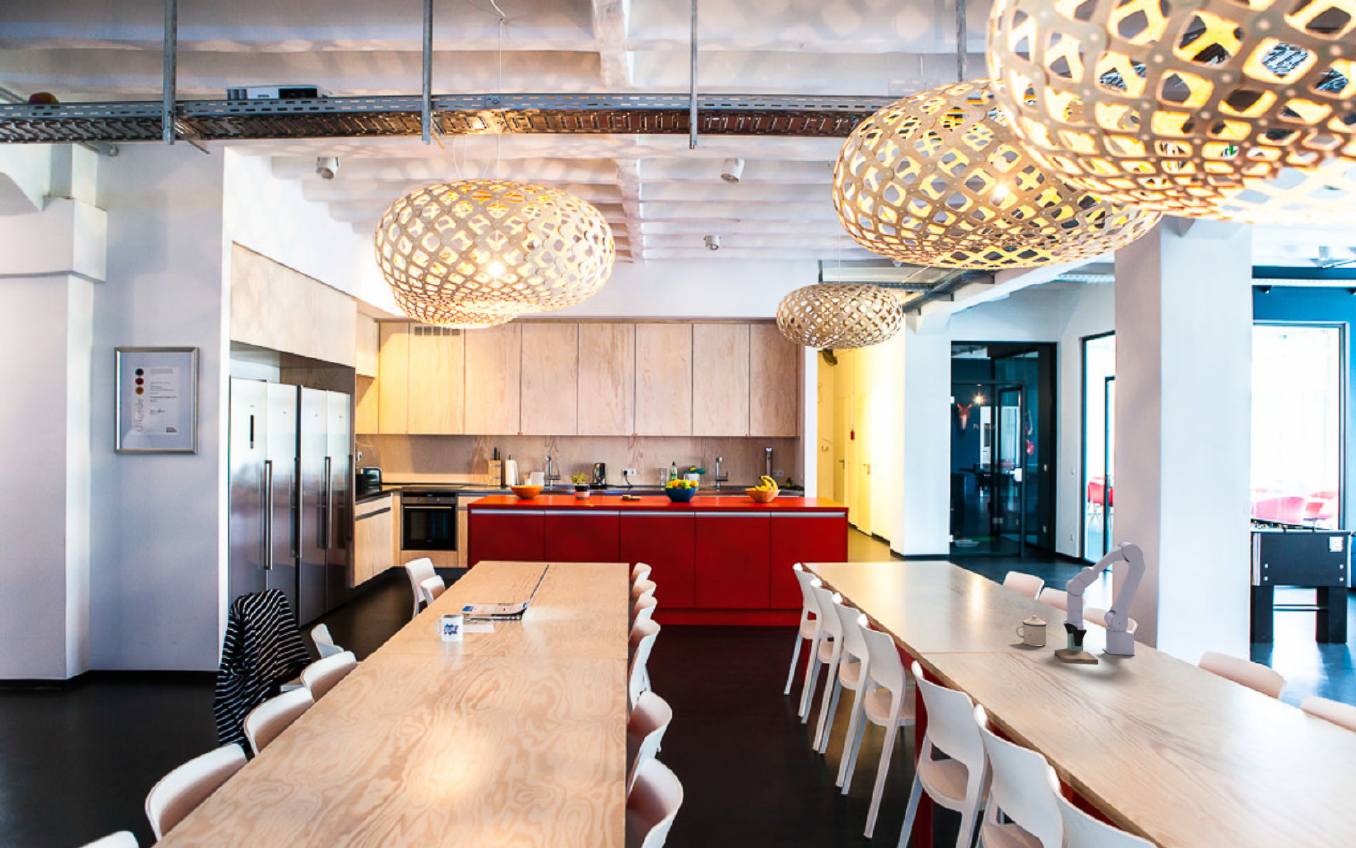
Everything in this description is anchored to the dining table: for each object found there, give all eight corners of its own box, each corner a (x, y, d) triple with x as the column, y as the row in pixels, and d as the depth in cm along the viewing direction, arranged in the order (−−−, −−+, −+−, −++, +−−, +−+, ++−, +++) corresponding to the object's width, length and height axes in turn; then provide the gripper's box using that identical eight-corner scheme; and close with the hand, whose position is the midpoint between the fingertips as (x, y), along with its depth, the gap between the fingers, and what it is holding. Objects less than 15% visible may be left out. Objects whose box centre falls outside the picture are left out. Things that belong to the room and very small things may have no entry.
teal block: (1079, 648, 317) (1079, 634, 318) (1083, 651, 313) (1083, 636, 313) (1067, 648, 318) (1067, 633, 318) (1071, 651, 314) (1070, 636, 314)
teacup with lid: (1043, 641, 329) (1042, 613, 329) (1049, 647, 320) (1049, 618, 320) (1012, 640, 330) (1012, 612, 331) (1019, 646, 321) (1018, 617, 322)
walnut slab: (1087, 655, 307) (1087, 651, 307) (1098, 663, 296) (1098, 659, 296) (1054, 653, 309) (1054, 650, 309) (1064, 662, 298) (1064, 658, 298)
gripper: (1058, 605, 324) (1058, 638, 323) (1069, 613, 310) (1070, 647, 309) (1077, 606, 323) (1077, 639, 322) (1089, 614, 308) (1089, 648, 308)
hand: (1075, 643), depth 316 cm, fingers open, 7 cm apart
